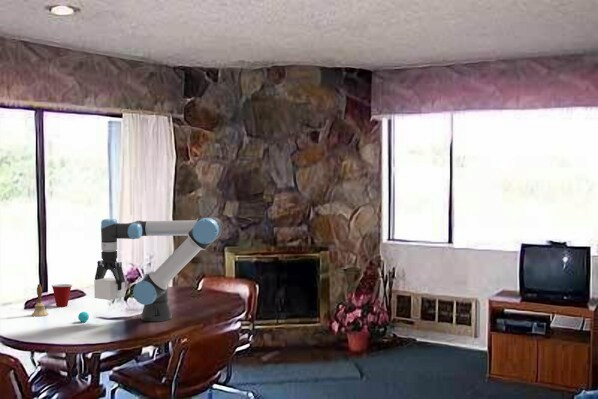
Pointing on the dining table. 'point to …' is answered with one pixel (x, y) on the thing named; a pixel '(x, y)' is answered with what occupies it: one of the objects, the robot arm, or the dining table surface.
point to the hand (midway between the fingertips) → (109, 295)
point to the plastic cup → (61, 294)
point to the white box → (107, 288)
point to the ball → (83, 316)
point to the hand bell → (39, 304)
